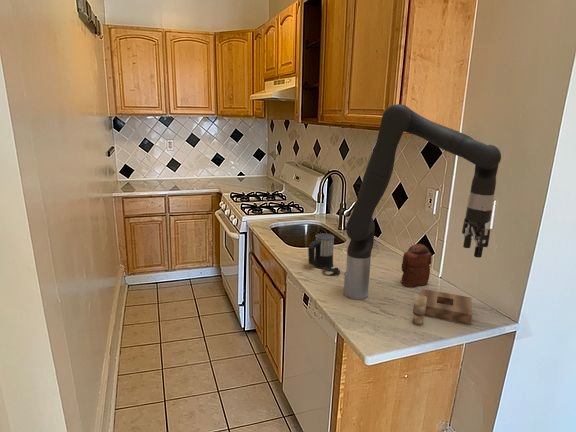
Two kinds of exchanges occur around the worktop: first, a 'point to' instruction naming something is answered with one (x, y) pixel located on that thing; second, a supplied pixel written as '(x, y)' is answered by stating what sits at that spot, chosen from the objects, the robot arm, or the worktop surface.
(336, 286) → the worktop surface
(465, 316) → the wooden board with hole
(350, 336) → the worktop surface
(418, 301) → the beech peg
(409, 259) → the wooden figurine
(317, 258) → the milk frother
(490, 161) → the robot arm
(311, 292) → the worktop surface
